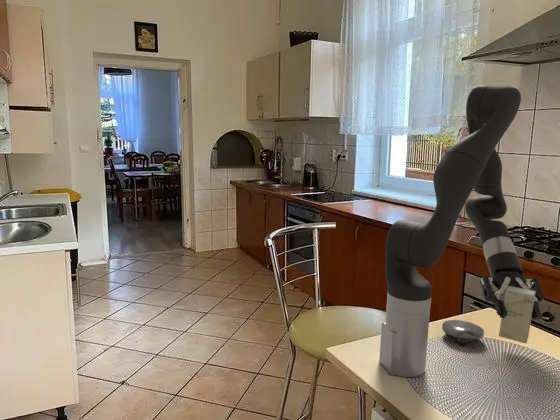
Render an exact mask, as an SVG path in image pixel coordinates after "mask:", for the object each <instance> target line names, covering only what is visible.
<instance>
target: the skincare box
mask: <svg viewBox="0 0 560 420" xmlns="http://www.w3.org/2000/svg"><path fill="white" fill-rule="evenodd" d="M535 292H536V291H532V290H527V289H522V288H517V287H512V286H507V288H506V291H505V294H504V296H503V297H504V298H503V302H504V305H505V309H506V312H507V316H506V317H505V318H500V319H501V320H500V327H499V331H498V337H500V338H504V339H507V340H511V341H515V342H518V343H522V344H528V340H529V335H530V331H531V330H530V328H531V323H532V311H533V304H534V298H535Z"/></svg>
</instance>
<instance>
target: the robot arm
mask: <svg viewBox="0 0 560 420" xmlns="http://www.w3.org/2000/svg"><path fill="white" fill-rule="evenodd" d="M521 101H522V96H521V92H520V91H519V89H517V88H516V87H514V86H508V85H493V84H491V85H490V84H479V85H476V86H474V87H472V89H471V90H470V91H469V94H468V96H467V100H466V107H465V108H466V109H465V113H466V115H465V116H466V121H467V129H468V136H465V137H464V138H462V139H461V140H459V141H457V142H455V143H454V144H453V145H451V146H450V147H449V148H448V149H447V150H446V151H445V153H444V154H443V156H442V157H441V160H440V161H439V163H438V164H437V166H436V168H435V170H434V173H433V179H432V181H433V187H434V188H433V189H434V194H435V197H436V205H435V208H434V212H433V213H432V216H431V218H430V219H429V220H428V221H427V223H425V222H418V221H412V220H406V219H405V220H404V219H400V220H396V221H395V222H394V223H393V224H392V225H391V226H390V228H389V230H388V233H387V237H386V241H385V242H386V243H385V282H386V284H387V297H386V308H385V310H386V311H385V321H383V322H382V323H381V327H380V328H381V329H380V332H381V333H380V334H381V335H380V344H379V360H378V361H379V363H380V364H381V365H382V367H383V368H384V369H385V370H386V372H387V373H388V374H389V375H390V376H391V375H393V376H394V375H395V376H399V377H404V378H416V377H420V376H422V375H423V374H425V371H426V364H427V352H428V340H429V339H428V338H429V327H430V314H431V304H432V292H433V291H432V287H433V286H432V283H430V281H429V280H427V279H426V277H424V276H423V275H422V274H421V273H420V272H419V271H418V270H417V268H416V267H418V268H423V269H430V268H433V267H435V266H436V265H437V263H438V262H439V261H440V259H441V258H442V256H443V254H444V252H445V249H446V248H447V245H448V243H449V240H450V238H451V236H452V234H453V231H454V228H455V226H456V223H457V221H458V218H459V216H460V215H461V212H462V210H463V208H464V210H465V213H466V216H467V217H468V220H469V221H471V223H472V224H473V226H474V228H475V229H476V231H477V232H478V234H479V236H480V240H481V245H482V248H483V254H484V258H485V261H486V265H487V269H488V272H489V274H490V277H489V276H488V275H483V276H482V277H481V278H480V280H479V283H480V287H481V291H482V293H483V298H484V300H485V301H486V302H492V303H493V304H494V308H495V311H496V314H497V315H498V316H499V318H500V319H501V318H505V317H506V316H507V312H506V309H505V305H504V300H502V299H503V297H504V296H505V291H506V288H507V286H512V287H517V288H522V289H527V290H532V291H536V292H535V298H534V304H533V311H532V317H531V320H538V319H539V318H540V316H541V315H542V313H541V309H540V306H539V304H540V302H541V301H543V300H544V299H545V295H544V293H543V290H542V287H541V285H540V281H539V279H538V278H537V277H535V276H534V277H533V278H526V277H525V276H524V274H523V268H522V265H521V263H520V259H519V256H518V253H517V251H516V247H515V245H514V243H513V241H512V239H511V236H510V233H509V230H508V227H507V225H506V224H505V223H504V222H503V221H500V220H499V219H502V218H503V217H504V216H505V215H506V213H507V211H508V207H507V202H506V200H505V197H504V194H503V190H502V189H503V187H502V177H503V176H502V175H503V174H502V173H503V162H502V160H501V157H500V155H499V153H498V151H497V150H496V147H497V145H498V143H499V142H500V141H501V139H503V136H504V135H505V133H506V132H507V130H508V129H509V127H510V126H511V124H512V123H513V121H514V119H515V117H516V116H517V114H518V111H519V109H520V106H521ZM473 190H474V192H475V193H477V194H479V195H480V196H479V195H478V196H473V197H470V195H471V193H472V191H473ZM469 197H470V198H469ZM468 198H469V199H468ZM464 206H465V207H464ZM492 285H493V286H494V287H495V288H496V290H495V294H494V291H493V288H492Z"/></svg>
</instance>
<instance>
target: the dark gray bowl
mask: <svg viewBox="0 0 560 420" xmlns="http://www.w3.org/2000/svg"><path fill="white" fill-rule="evenodd" d="M441 328H442V329H441V330H442V331H443V332H444V334H445V335H446V336H450V337H453V338H456V339H458V342H457V344H458V345H459V346H461V347H466V346H467V344H468V341H478V340H481V339H483V338H484V336H485V335H484V334H485V331H484V330H485V329H483V328H482V327H481V326H480V325H478V324H475V323H473V322H470V321H465V320H458V319H449V320H446V321H443V322H442V325H441Z"/></svg>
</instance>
